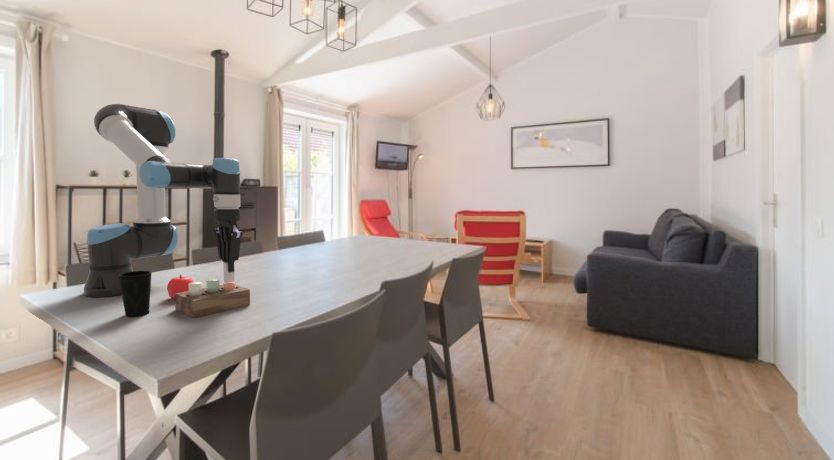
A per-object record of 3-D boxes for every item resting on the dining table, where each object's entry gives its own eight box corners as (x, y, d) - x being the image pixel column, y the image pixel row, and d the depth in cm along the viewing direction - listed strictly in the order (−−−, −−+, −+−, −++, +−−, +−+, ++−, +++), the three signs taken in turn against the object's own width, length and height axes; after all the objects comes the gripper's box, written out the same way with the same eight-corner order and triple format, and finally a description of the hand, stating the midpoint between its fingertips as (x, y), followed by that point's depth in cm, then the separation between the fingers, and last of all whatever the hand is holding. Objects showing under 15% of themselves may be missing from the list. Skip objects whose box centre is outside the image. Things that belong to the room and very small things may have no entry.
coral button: (221, 295, 124) (221, 283, 124) (232, 293, 127) (231, 281, 127) (227, 297, 122) (227, 285, 122) (238, 295, 125) (238, 282, 125)
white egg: (186, 296, 116) (186, 283, 115) (199, 294, 119) (198, 281, 118) (192, 298, 114) (191, 285, 113) (205, 296, 116) (204, 283, 116)
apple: (161, 300, 127) (160, 276, 126) (179, 294, 134) (178, 271, 134) (184, 301, 126) (183, 277, 125) (200, 295, 133) (199, 272, 133)
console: (175, 309, 117) (174, 293, 117) (230, 297, 131) (229, 283, 131) (194, 318, 110) (193, 300, 110) (250, 304, 124) (249, 289, 124)
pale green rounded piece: (204, 293, 120) (204, 280, 119) (216, 290, 123) (215, 278, 122) (210, 295, 118) (210, 282, 117) (222, 292, 121) (221, 280, 120)
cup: (136, 319, 108) (134, 277, 107) (113, 317, 110) (111, 275, 109) (159, 311, 116) (158, 271, 115) (138, 309, 117) (136, 270, 116)
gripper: (204, 207, 123) (207, 280, 125) (226, 209, 115) (228, 287, 117) (228, 206, 129) (229, 276, 131) (250, 208, 121) (251, 282, 124)
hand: (229, 281), depth 124 cm, fingers closed
